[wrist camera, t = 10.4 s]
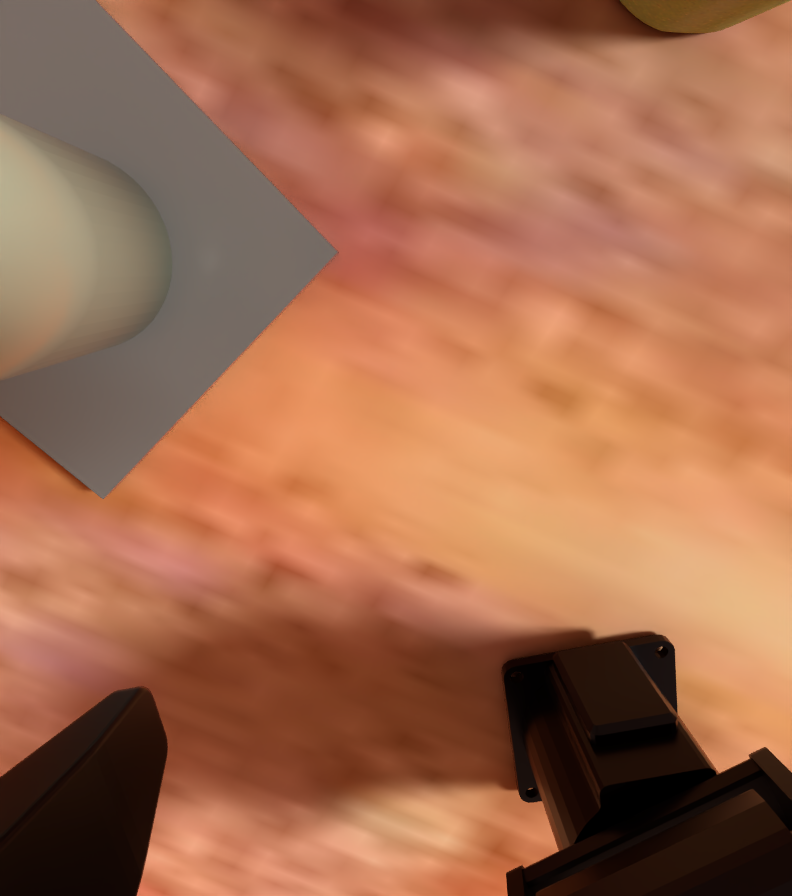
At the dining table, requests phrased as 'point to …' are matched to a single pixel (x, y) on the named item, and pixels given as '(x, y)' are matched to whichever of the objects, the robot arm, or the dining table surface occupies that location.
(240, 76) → the dining table surface
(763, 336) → the dining table surface
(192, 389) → the slate pad
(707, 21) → the plant pot
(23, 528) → the dining table surface
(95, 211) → the pale lidded canister
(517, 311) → the dining table surface
